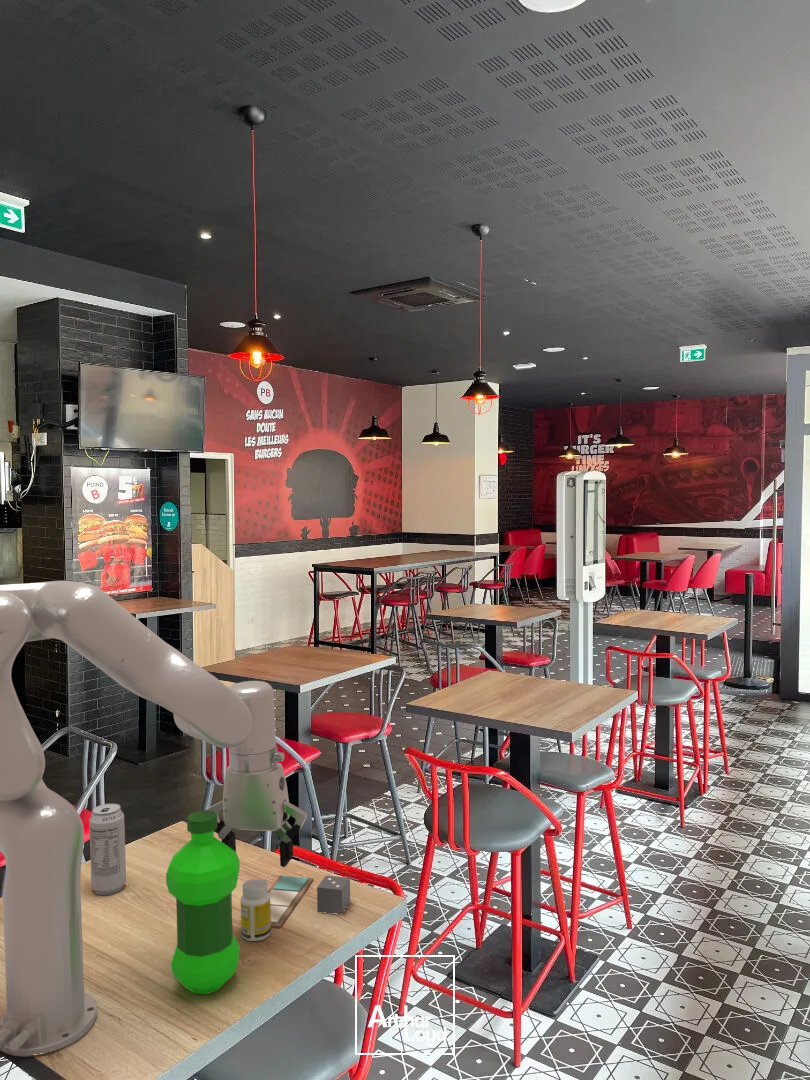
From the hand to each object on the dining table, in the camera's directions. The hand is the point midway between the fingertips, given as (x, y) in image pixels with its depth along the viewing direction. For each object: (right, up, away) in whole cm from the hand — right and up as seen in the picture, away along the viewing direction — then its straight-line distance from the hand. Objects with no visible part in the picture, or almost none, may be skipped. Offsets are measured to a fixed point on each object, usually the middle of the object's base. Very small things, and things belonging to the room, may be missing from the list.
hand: (258, 861), depth 130 cm
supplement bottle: (0, -12, 0) cm, 12 cm away
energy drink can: (-31, -12, +17) cm, 37 cm away
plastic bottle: (-5, -13, -13) cm, 19 cm away
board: (+2, -11, +11) cm, 16 cm away
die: (+12, -12, +8) cm, 18 cm away
